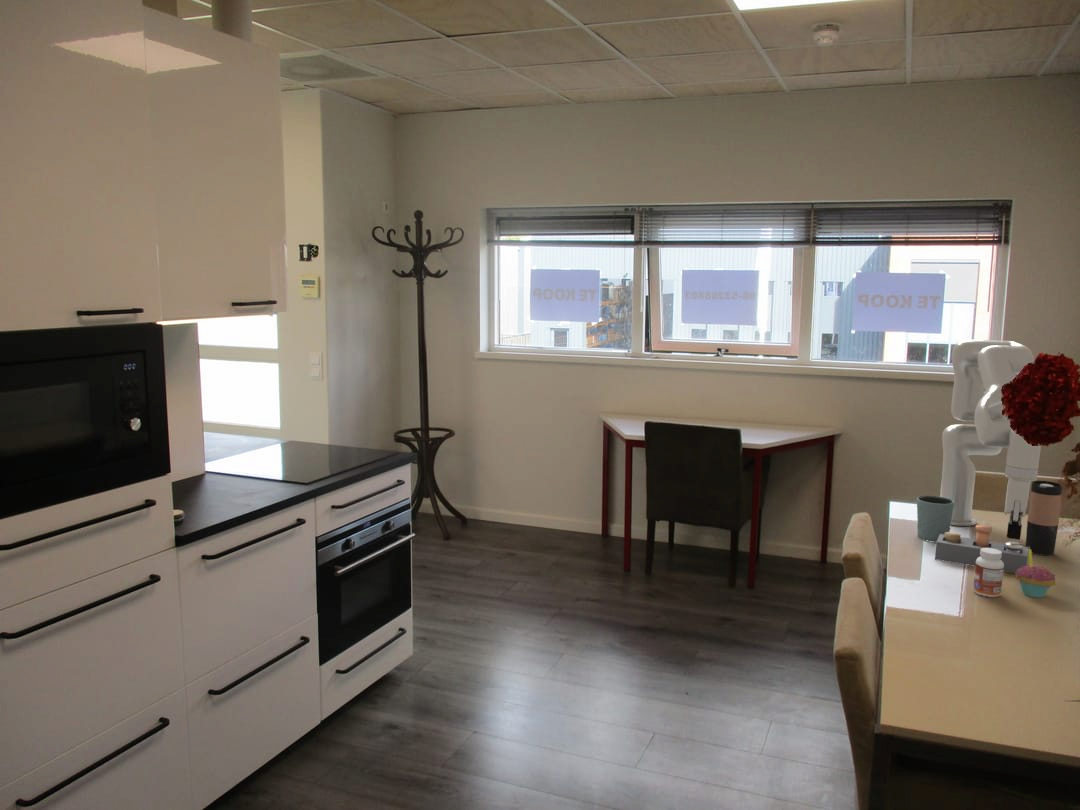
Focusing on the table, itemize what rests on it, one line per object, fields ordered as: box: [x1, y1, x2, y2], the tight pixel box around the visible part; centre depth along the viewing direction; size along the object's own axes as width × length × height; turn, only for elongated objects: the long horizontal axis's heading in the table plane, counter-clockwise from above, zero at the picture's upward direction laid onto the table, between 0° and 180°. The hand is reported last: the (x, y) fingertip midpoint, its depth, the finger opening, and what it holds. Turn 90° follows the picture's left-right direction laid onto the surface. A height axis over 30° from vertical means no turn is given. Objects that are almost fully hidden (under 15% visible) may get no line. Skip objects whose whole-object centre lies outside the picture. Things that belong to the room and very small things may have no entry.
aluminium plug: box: [1004, 540, 1023, 553], centre depth 227 cm, size 4×4×6 cm
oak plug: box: [944, 531, 961, 543], centre depth 235 cm, size 4×4×6 cm
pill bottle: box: [972, 548, 1004, 598], centre depth 208 cm, size 6×6×11 cm
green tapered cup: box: [916, 494, 954, 543], centre depth 252 cm, size 10×10×12 cm
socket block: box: [934, 534, 1029, 574], centre depth 231 cm, size 9×22×5 cm, turn 59°
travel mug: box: [1025, 480, 1063, 556], centre depth 240 cm, size 8×8×20 cm
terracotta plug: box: [974, 523, 993, 548], centre depth 231 cm, size 4×4×6 cm
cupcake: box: [1015, 547, 1057, 598], centre depth 208 cm, size 9×8×12 cm
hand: (1013, 537), depth 227 cm, fingers closed
